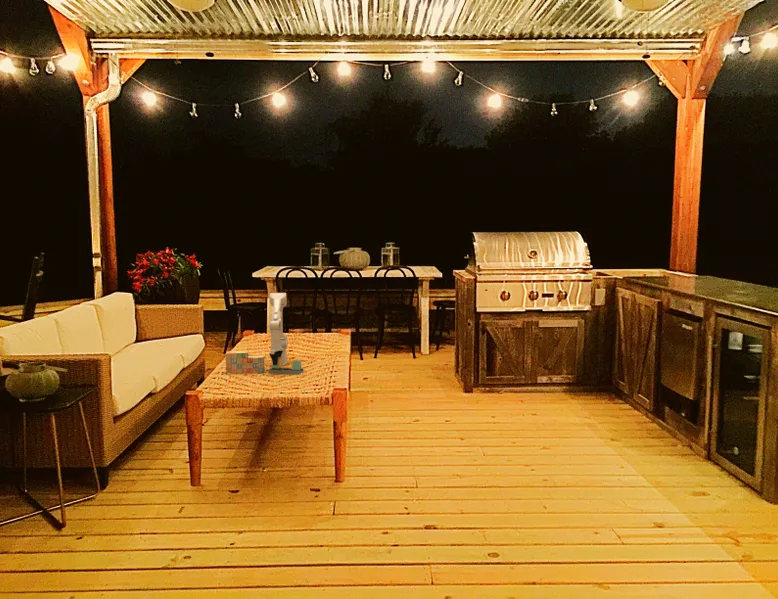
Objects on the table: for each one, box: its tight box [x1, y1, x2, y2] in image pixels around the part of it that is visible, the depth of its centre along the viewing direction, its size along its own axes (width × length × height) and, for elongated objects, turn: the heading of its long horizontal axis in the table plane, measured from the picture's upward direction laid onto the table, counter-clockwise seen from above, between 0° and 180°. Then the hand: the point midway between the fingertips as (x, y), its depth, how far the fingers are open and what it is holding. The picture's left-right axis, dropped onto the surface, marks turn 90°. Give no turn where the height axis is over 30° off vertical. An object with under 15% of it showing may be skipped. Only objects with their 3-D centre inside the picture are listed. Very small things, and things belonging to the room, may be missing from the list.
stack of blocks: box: [225, 350, 266, 374], centre depth 373 cm, size 21×6×12 cm, turn 97°
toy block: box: [271, 357, 283, 368], centre depth 372 cm, size 4×5×6 cm
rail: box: [267, 359, 305, 375], centre depth 371 cm, size 6×19×7 cm, turn 82°
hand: (276, 364), depth 372 cm, fingers closed on toy block, 4 cm apart
